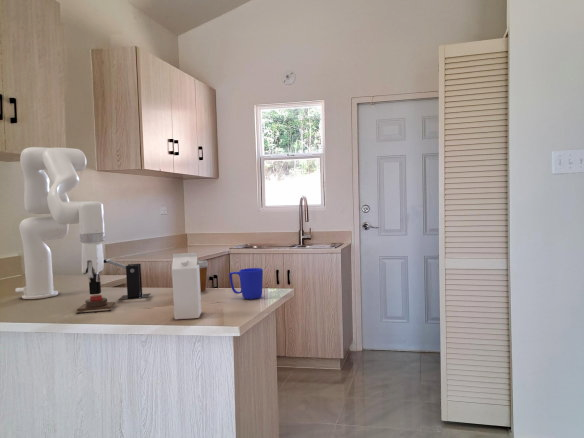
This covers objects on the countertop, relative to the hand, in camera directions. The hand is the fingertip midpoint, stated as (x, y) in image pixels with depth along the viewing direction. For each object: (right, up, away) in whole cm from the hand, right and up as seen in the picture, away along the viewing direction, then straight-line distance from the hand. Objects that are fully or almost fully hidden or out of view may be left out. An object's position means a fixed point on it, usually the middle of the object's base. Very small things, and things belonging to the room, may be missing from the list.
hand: (95, 293), depth 155 cm
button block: (0, -6, 0) cm, 6 cm away
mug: (+50, -3, +9) cm, 50 cm away
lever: (+3, +7, +14) cm, 16 cm away
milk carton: (+34, -5, -15) cm, 38 cm away
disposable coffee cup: (+29, -4, +23) cm, 37 cm away
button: (0, -2, 0) cm, 2 cm away
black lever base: (+8, -5, +15) cm, 18 cm away
